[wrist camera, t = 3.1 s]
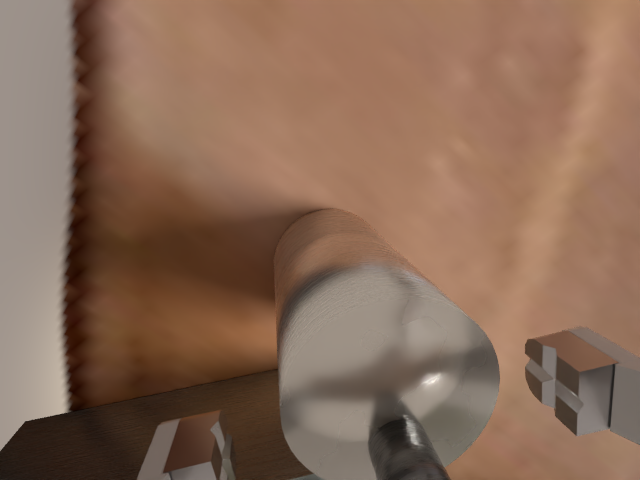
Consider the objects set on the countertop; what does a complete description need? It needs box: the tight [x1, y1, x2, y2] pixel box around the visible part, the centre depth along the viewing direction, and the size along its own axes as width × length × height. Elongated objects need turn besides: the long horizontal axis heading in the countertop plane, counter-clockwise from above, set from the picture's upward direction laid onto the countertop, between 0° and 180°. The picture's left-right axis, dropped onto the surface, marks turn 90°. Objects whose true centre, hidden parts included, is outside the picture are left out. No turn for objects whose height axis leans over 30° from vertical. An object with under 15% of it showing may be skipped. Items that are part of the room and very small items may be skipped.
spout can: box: [274, 209, 500, 480], centre depth 11 cm, size 5×5×11 cm
